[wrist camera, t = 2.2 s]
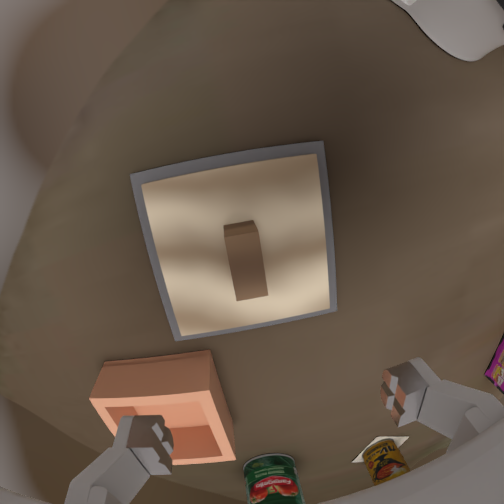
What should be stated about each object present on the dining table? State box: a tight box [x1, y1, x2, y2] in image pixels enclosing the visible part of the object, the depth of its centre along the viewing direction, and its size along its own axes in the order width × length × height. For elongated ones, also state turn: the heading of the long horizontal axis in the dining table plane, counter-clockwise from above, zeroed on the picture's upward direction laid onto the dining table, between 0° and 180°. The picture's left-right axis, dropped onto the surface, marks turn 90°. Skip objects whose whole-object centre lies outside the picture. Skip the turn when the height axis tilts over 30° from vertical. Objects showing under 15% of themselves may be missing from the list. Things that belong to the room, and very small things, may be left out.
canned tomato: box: [243, 453, 305, 504], centre depth 33 cm, size 8×8×11 cm
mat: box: [130, 141, 337, 341], centre depth 26 cm, size 16×16×1 cm
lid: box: [141, 154, 330, 336], centre depth 24 cm, size 14×14×4 cm
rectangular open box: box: [89, 349, 236, 465], centre depth 29 cm, size 12×12×6 cm
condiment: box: [352, 436, 410, 486], centre depth 35 cm, size 7×8×12 cm
